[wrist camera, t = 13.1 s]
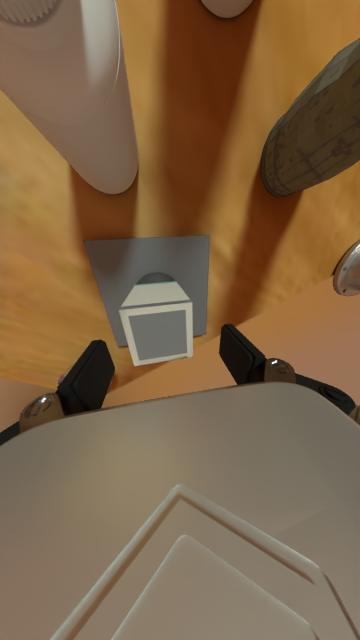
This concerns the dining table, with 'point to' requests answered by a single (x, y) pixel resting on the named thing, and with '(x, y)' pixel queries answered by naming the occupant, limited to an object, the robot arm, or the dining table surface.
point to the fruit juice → (226, 7)
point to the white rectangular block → (158, 323)
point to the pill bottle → (72, 84)
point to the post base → (150, 272)
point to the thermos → (317, 129)
